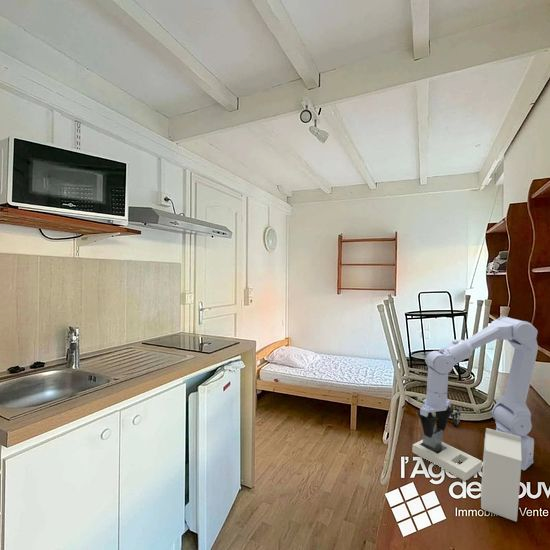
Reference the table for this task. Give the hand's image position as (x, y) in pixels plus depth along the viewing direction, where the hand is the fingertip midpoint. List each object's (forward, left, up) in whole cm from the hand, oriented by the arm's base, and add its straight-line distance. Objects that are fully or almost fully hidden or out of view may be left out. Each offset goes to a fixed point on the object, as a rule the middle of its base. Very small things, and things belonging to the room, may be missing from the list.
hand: (434, 432), depth 102 cm
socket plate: (-4, 0, -7) cm, 8 cm away
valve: (+11, -25, -7) cm, 28 cm away
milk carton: (-21, +8, -7) cm, 24 cm away
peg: (+1, 0, -7) cm, 7 cm away
